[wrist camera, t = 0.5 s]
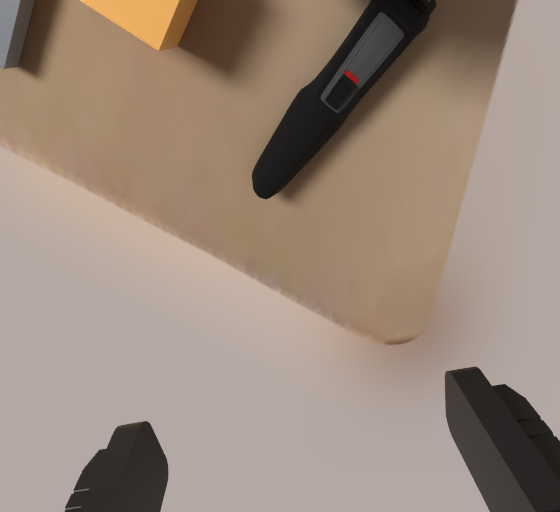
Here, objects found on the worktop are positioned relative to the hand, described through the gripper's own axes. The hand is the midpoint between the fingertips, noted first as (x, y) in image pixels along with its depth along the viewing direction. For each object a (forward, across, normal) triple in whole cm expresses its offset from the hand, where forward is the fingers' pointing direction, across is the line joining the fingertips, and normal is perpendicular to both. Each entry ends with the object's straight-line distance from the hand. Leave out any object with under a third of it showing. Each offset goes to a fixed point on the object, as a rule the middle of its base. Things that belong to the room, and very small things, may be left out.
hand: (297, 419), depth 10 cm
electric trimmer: (+20, -5, -7) cm, 22 cm away
